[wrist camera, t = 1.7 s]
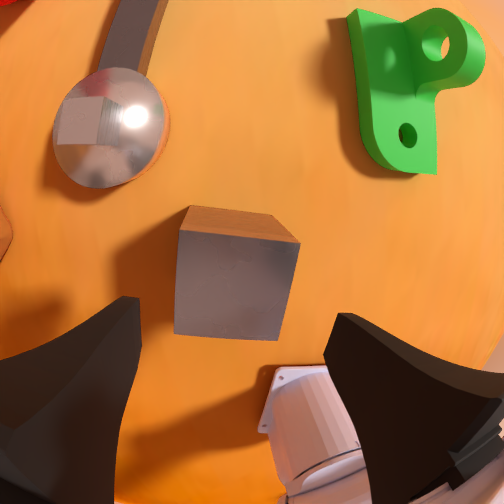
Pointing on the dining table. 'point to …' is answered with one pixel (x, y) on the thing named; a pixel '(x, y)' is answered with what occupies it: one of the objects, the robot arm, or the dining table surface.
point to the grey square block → (232, 274)
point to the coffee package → (4, 233)
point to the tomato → (6, 2)
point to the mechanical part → (408, 81)
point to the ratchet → (115, 106)
